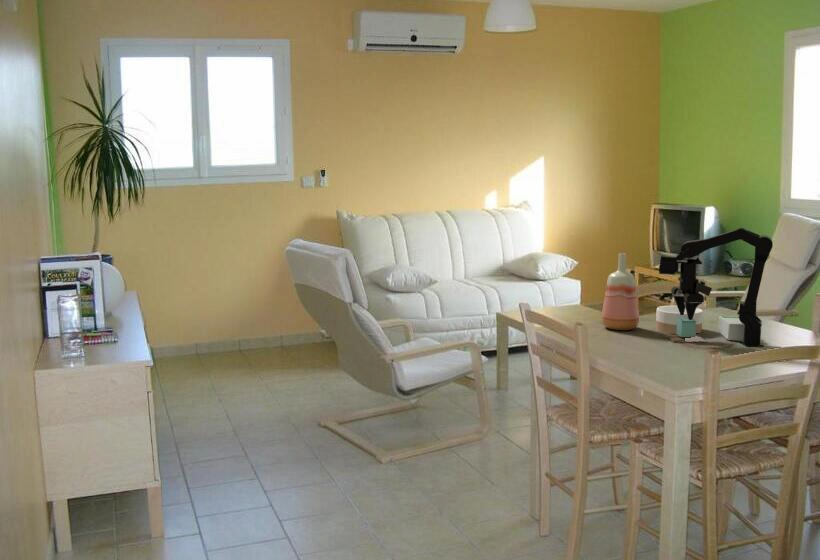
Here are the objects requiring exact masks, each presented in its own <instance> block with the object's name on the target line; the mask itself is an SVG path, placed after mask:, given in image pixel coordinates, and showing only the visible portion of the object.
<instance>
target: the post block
mask: <svg viewBox="0 0 820 560" xmlns="http://www.w3.org/2000/svg"><path fill="white" fill-rule="evenodd" d="M695 336H700V335H699V334H695ZM665 338H666V339H667V340H669V341H671V342H672V343H683V342H682V341H685V338H691V337H680V336H679V335H677V334H666V335H665ZM704 340H706V339H705V338H704Z"/></svg>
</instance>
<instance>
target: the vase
mask: <svg viewBox="0 0 820 560" xmlns="http://www.w3.org/2000/svg"><path fill="white" fill-rule="evenodd" d="M626 256H627V255H626V253H625V252H620V253H618V260H617V261H618V265H617V270H616V271H614V272H612V273H610V274H609V275H608V277H607V281H606V282H607V283H606V287H605V291H604V292H605V294H604V298H603V299H604V300H603V303H602V304H603V307H602V311H601V316H600V317H601V320H600V322H601V324H602V325H603V326H604V327H605V328H607V329H610V330H614V331H615V330H616V331H631V330H633V329H635V328H637V327H638V326H639V323H640V313H639V312H640V311H639V304H638V303H639V302H638V296H637V295H638V294H637V285H636V278H635V276H634V274H632V273H631V272H628V271H627V269H626V266H627V264H626V263H627V261H626V260H627V259H626V258H627V257H626Z"/></svg>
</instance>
